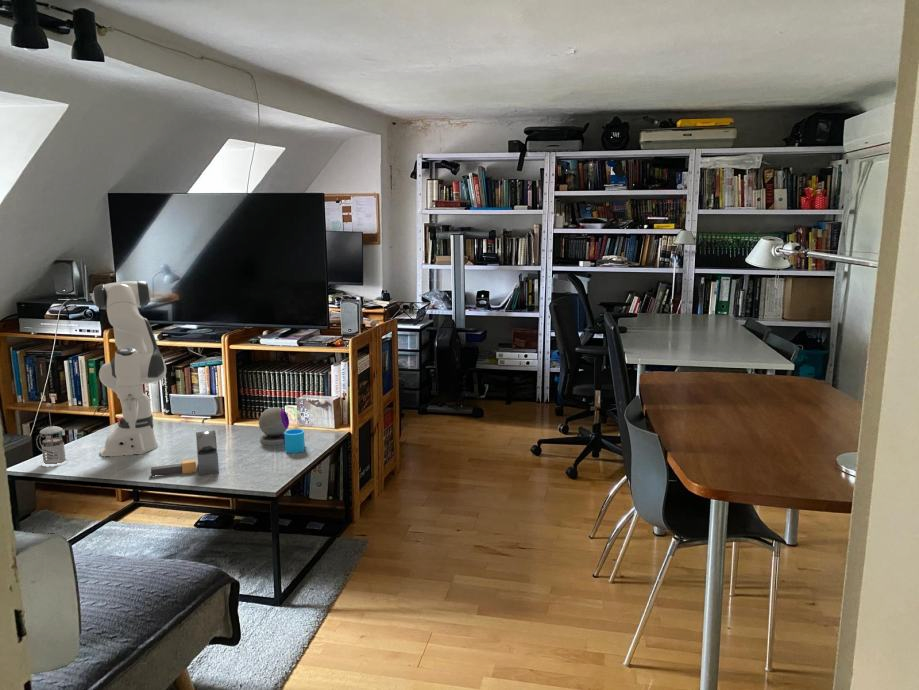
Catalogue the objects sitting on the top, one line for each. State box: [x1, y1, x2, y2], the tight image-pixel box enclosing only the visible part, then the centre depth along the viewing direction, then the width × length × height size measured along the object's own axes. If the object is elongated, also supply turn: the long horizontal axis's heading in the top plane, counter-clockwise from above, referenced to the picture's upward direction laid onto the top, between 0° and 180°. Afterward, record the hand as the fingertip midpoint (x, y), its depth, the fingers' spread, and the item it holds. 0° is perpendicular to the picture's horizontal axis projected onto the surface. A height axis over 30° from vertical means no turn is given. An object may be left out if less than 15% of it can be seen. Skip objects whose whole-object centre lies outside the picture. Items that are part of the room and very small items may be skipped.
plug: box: [150, 458, 197, 477], centre depth 267 cm, size 16×4×4 cm, turn 113°
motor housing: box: [195, 429, 220, 476], centre depth 270 cm, size 7×14×15 cm, turn 23°
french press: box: [35, 402, 68, 464], centre depth 276 cm, size 10×12×25 cm
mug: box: [284, 428, 306, 454], centre depth 294 cm, size 12×8×8 cm
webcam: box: [258, 406, 290, 446], centre depth 305 cm, size 13×13×15 cm
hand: (133, 427), depth 259 cm, fingers open, 8 cm apart
